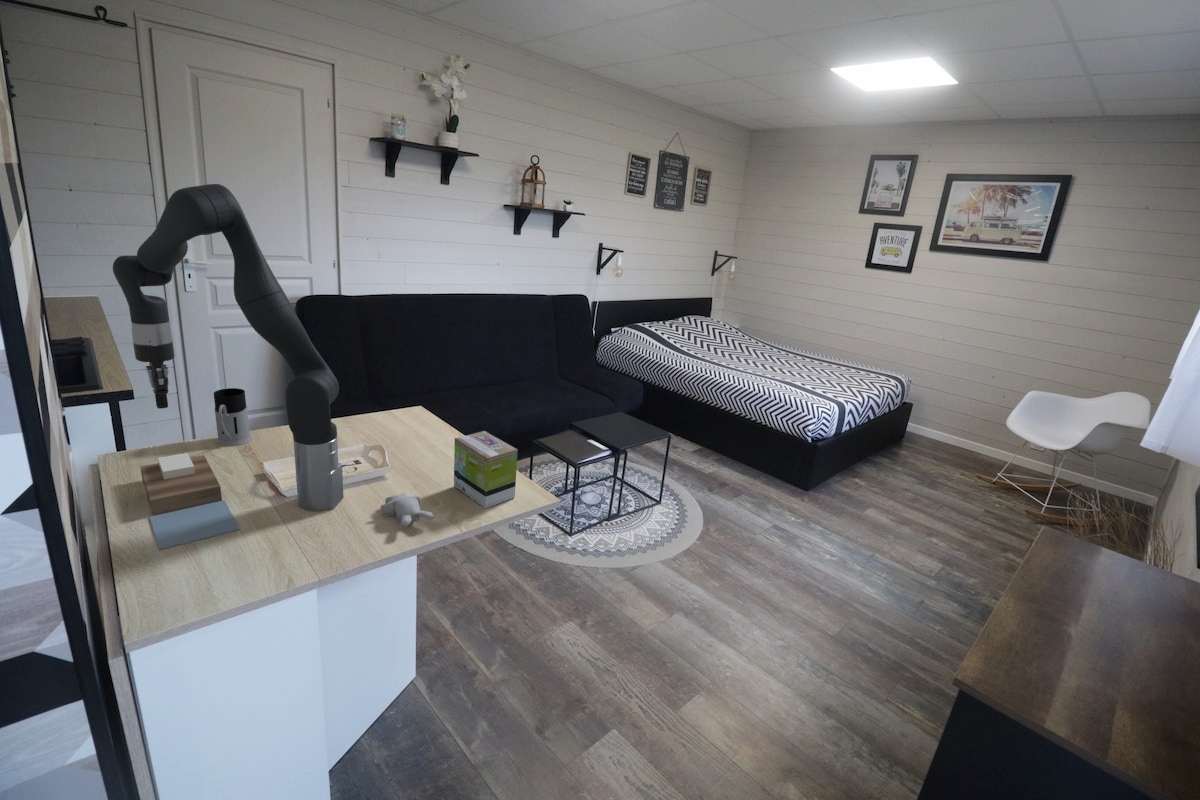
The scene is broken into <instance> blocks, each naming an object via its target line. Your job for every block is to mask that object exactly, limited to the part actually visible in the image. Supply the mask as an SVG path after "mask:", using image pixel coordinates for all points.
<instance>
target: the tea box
mask: <svg viewBox="0 0 1200 800" xmlns="http://www.w3.org/2000/svg"><path fill="white" fill-rule="evenodd" d="M518 452H519V451H518V448H515V447H514V446H512V445H511V444H509V443H507V442H505V441H503V440H502V439H500V438H499V437H496V436H495V435H493V434H491V433H489V432H488V431H485V430H483V431H478V432H474V433H471V434H467V435H463V436H459V437H455V438H454V453H453V456H454V460H453V461H454V465H453V486H454V487H455V488H457V489H458V490H459V491H461V492H462V493H463V494H465V495H466V496H467V497H469V498H470V499H471V500H473V501H475V502H476V503H477V504H478V505H480V506H481V507H482V506H483V509H488V508H491V507H493V505H494V506H496V504H497V505H499V504H502V503H504V502H503V501H505V502H507V501H509V499H510V500H513V499H515V497H516V482H517V465H518ZM512 498H513V499H512ZM506 500H507V501H506ZM501 502H502V503H501ZM498 503H499V504H498ZM490 506H491V507H490Z"/></svg>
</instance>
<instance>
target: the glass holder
mask: <svg viewBox="0 0 1200 800" xmlns="http://www.w3.org/2000/svg"><path fill="white" fill-rule="evenodd" d="M245 391H246V390H245V389H242V388H236V387H235V388H234V387H233V388H222V389H218V390H216V391H214V392H213V401H214V415H215V422H216V430H217V440H216V445H219V446H222V447H237V446H238V447H239V446H243V445H246V444H249V443H250V442H251V441H252V440H253V438H252V436H251V432H250V422H249V412H248V405H247V401H246V392H245Z"/></svg>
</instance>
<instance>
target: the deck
mask: <svg viewBox="0 0 1200 800" xmlns="http://www.w3.org/2000/svg"><path fill="white" fill-rule="evenodd" d="M190 459H191V461H192V463H193V465H194V470H195V474H191V475H185V476H180V477H175V478H169V479H164V478H163V475H162V472H161V469H160V467H159V462H156V463H150V464H145V465H140V473H141V474H140V475H141V479H142V482H143V483H142V484H143V486H144V490H145V493H146V496H147V500H148V503H149V508H150V511H151V514H152V515H151V516H155V515H159V514H164V513H169V512H173V511H178V510H182V509H187V508H191V507H196V506H200V505H205V504H209V503H214V502H218V501H223V498H222V497H223V496H222V489H221V485H220V483H219V481H218V479H217V477H216V475H215V473H214V471H213V469H212V468H211V466H210V464H209V462H208V459H207V458H206V456H205V455H198V456H190Z"/></svg>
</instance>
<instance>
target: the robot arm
mask: <svg viewBox="0 0 1200 800" xmlns="http://www.w3.org/2000/svg"><path fill="white" fill-rule="evenodd" d="M163 209H164V210H163V212H162V213H161V216H160V218H159V221H158V223H157V225H156V228H155V229H154V231H153V232H152V233H151V234H150V235H149V236H148V237H147V238H146V239H145V240H144V241H143V243H142V244H141V245H140V246H139V247H138V249H137V251H136V255H120V256H118V257H117V258H115V259H114V261H113V263H112V272H113V276H114V277H115V279H116V281H117V283H118V285H119V287H120V289H121V291H122V293H123V295H124V297H125V299H126V302H127V304H128V309H129V315H130V321H131V323H130V324H131V327H130V328H131V331H130V332H131V337H132V344H133V350H134V356H135V360H137V361H138V362H141V363H148V364H149V365H145V369H146V372H147V375H148V381H149V383H150V385H151V388H152V392H153V394H154V398H155V403H156V404H155V405H156V407H157V409H161V410H162V409H166V408H169V402H168V396H167V394H169V376H168V375H169V368H168V367H167V364H164V362H169V361H171V360H173V359H174V358H175V356H176V355H175V349H174V342H173V334H172V328H171V326H170V321H169V314H168V313H169V311H168V307H167V305H168V304H167V302H166V300H165V299H164V298H163V297H160V296H155V295H147V294H144V292H143V291H142V289H141V287H159V286H160V287H161V286H165V285H167V284H169V283H170V282H171V281H172V280H173V274H174V271H175V267H176V266H178V264H179V263H180V262H181V261H183V259H184V258H185V257H186V255H187V253H188V250H189V249H188V248H189V245H188V241H190V240H191V239H194V238H196V237H198V236H208V235H213V234H218V233H222V234H223V237H224V238H225V239H226V241H227V244H228V246H229V247H230V250H231V251H230V252H231V254H232V257H233V264H234V265H233V266H234V270H233V294H234V299H235V301H236V304H237V305H238V307H239V309H240V310H241V312H242V314H243V316H244V317H245V319H246V320H247V322H248V323H249V325H250V326H251V327H252V328H253V330H254V331H255V333H257V334H258V335H259V336H260V337H261V338H262V339H264V340H265V341H266V342H267V343H268V344H270V346H272V347H273V348H275V350H277V352H278V353H279V354H280V355H281V356H282V358H284V360H285V361H286V364H287V365H288V367H289V369H290V370H291V373H292V374H293V376H294V378H293V379H291V381H290V382H289V383H288V385H287V386H286V389H285V407H286V414H287V422H288V428H289V430H290V432H291V433H292V437H293V439H292V441H293V451H294V465H295V480H296V481H295V482H296V491H297V496H296V497H297V503H298V507H299V508H300V509H302V510H304V511H309V512H319V511H320V512H321V511H325V510H334V509H335V508H336V507H337V506H338V505H339V503H340V502H341V501H343V499H344V479H343V478H344V477H343V465H342V463H341V462H340V463H339V450H338V429H337V428H338V427H337V425H336V424H335V423H334V422H332V418H331V417H332V415H331V404H332V403H333V402H334V401H336V399H337V397H338V395H339V393H340V386H339V385H340V384H339V381H338V379H337V377H336V376H335V374H334V373H333V371H332V370H331V368H330V367H329V366H328V364H327V363H326V362H325V360H324V359H323V357H322V356H321V354H320V353H319V351H318V350H317V349H316V347H315V346H314V344H313V342H312V340H311V339H310V337H309V335H308V333H307V331H306V329H305V327H304V326H303V324H302V322H301V320H300V319H299V317H298V316H297V313H296V311H295V309H294V308H293V305H292V304H291V302H290V300H289V298H288V296H287V295H286V293H285V291H284V289H283V288H282V286H281V285H280V283H279V281H278V279H277V278H276V276H275V275H274V272H273V270H272V269H271V267H270V265H269V264H268V262H267V260H266V258H265V256H264V254H263V252H262V250H261V247H260V246H259V244H258V242H257V239H256V237H255V234H254V233H253V230H252V228H251V226H250V224H249V222H248V219H247V217H246V215H245V213H244V210H243V208H242V206H241V205H240V203H239V201H238V200H237V198H236V196H235V195H234V193H232V191H230V190H229V188H227V187H226V186H224V185H222V184H219V183H211V184H210V183H209V184H203V185H196V186H195V185H194V186H189V187H187V186H186V187H183V188H180V189H177V190H175V191H174V192H173V193H172V195H170V197H169V199H168V200H167V203H166V204H165V207H164V208H163Z"/></svg>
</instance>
